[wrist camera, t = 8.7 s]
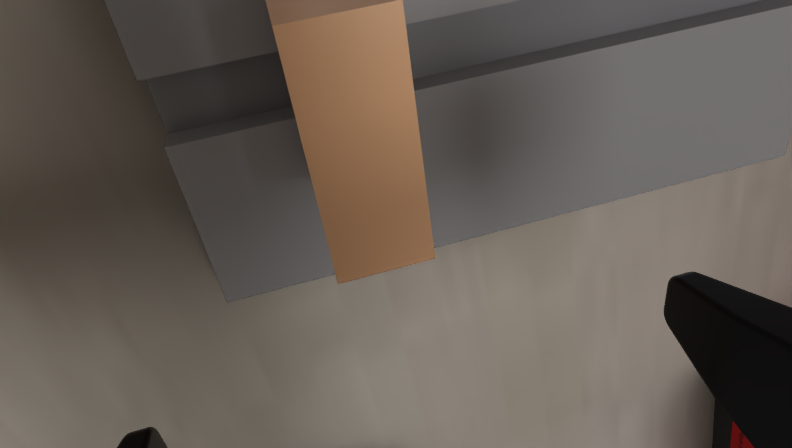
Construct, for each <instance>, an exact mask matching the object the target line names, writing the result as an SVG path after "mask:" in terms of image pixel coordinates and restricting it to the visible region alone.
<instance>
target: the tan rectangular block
mask: <svg viewBox="0 0 792 448" xmlns="http://www.w3.org/2000/svg"><path fill="white" fill-rule="evenodd" d="M265 1H266V5H267V9H268V13H269V17H270V20H271V24H272V28H273V32H274V36H275V40H276V44H277V48H278V52H279V56H280V60H281V64H282V67H283V71H284V75H285V79H286V83H287V87H288V91H289V95H290V99H291V103H292V107H293V111H294V114H295V118H296V122H297V126H298V130H299V134H300V138H301V142H302V146H303V150H304V154H305V158H306V161H307V165H308V169H309V173H310V177H311V181H312V185H313V189H314V193H315V197H316V200H317V204H318V208H319V212H320V216H321V220H322V224H323V228H324V232H325V235H326V239H327V243H328V247H329V251H330V255H331V259H332V263H333V267H334V270H335V274H336V278H337V282H338V284H340V283H344V282H348V281H352V280H355V279H359V278H363V277H367V276H370V275H374V274H378V273H382V272H386V271H389V270H393V269H397V268H401V267H404V266H408V265H412V264H416V263H419V262H423V261H427V260H431V259H434V258H435V252H434V244H433V236H432V228H431V220H430V212H429V204H428V196H427V188H426V181H425V173H424V165H423V157H422V149H421V141H420V133H419V125H418V117H417V109H416V101H415V93H414V85H413V77H412V69H411V62H410V54H409V46H408V38H407V30H406V22H405V14H404V6H403V0H265Z"/></svg>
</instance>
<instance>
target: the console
mask: <svg viewBox="0 0 792 448" xmlns="http://www.w3.org/2000/svg"><path fill="white" fill-rule="evenodd" d="M104 2H105V4H106V6H107V9H108V11H109V14H110V16H111V19H112V21H113V24H114V26H115V29H116V31H117V33H118V36H119V38H120V41H121V43H122V46H123V48H124V51H125V53H126V56H127V58H128V60H129V63H130V65H131V68H132V70H133V73H134V75H135V78H136V80H137V81H140V80H146V82H147V85H148V87H149V90H150V92H151V95H152V97H153V100H154V102H155V105H156V107H157V110H158V113H159V115H160V118H161V120H162V123H163V125H164V128H165V130H166V133H167V137H166V141H165V146H164V149H165V151H166V154H167V156H168V159H169V161H170V164H171V166H172V169H173V171H174V173H175V176H176V178H177V181H178V183H179V186H180V188H181V191H182V193H183V196H184V198H185V200H186V203H187V205H188V208H189V210H190V213H191V215H192V218H193V220H194V223H195V225H196V228H197V230H198V232H199V235H200V237H201V240H202V242H203V245H204V247H205V250H206V252H207V255H208V257H209V259H210V262H211V264H212V267H213V269H214V272H215V274H216V277H217V279H218V282H219V284H220V286H221V289H222V291H223V294H224V296H225V299H226V301H227V302H231V301H235V300H239V299H243V298H246V297H250V296H254V295H258V294H262V293H265V292H269V291H273V290H277V289H281V288H284V287H288V286H292V285H296V284H299V283H303V282H307V281H311V280H315V279H318V278H322V277H326V276H330V275H334V274H335V270H334V267H333V263H332V259H331V255H330V251H329V247H328V243H327V239H326V235H325V232H324V228H323V224H322V220H321V216H320V212H319V208H318V204H317V200H316V197H315V193H314V189H313V185H312V181H311V177H310V173H309V169H308V165H307V161H306V158H305V154H304V150H303V146H302V142H301V138H300V134H299V130H298V126H297V122H296V118H295V114H294V111H293V107H292V103H291V99H290V95H289V91H288V87H287V83H286V79H285V75H284V71H283V67H282V64H281V60H280V56H279V52H278V48H277V44H276V40H275V36H274V32H273V28H272V24H271V20H270V17H269V13H268V9H267V5H266V1H265V0H104ZM403 6H404V14H405V22H406V30H407V38H408V46H409V54H410V62H411V69H412V77H413V85H414V93H415V101H416V109H417V117H418V125H419V133H420V141H421V149H422V157H423V165H424V173H425V181H426V188H427V196H428V204H429V212H430V220H431V228H432V236H433V244H434V248H436V247H440V246H444V245H447V244H451V243H455V242H459V241H463V240H466V239H470V238H474V237H478V236H482V235H485V234H489V233H493V232H497V231H501V230H504V229H508V228H512V227H516V226H520V225H523V224H527V223H531V222H535V221H538V220H542V219H546V218H550V217H554V216H557V215H561V214H565V213H569V212H573V211H576V210H580V209H584V208H588V207H592V206H595V205H599V204H603V203H607V202H611V201H614V200H618V199H622V198H626V197H630V196H633V195H637V194H641V193H645V192H649V191H652V190H656V189H660V188H664V187H667V186H671V185H675V184H679V183H683V182H686V181H690V180H694V179H698V178H702V177H705V176H709V175H713V174H717V173H721V172H724V171H728V170H732V169H736V168H740V167H743V166H747V165H751V164H755V163H759V162H762V161H766V160H770V159H774V158H777V157H781V156H785V153H786V150H787V146H788V142H789V139H790V135H791V131H792V0H403Z"/></svg>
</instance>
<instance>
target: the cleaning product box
mask: <svg viewBox="0 0 792 448" xmlns="http://www.w3.org/2000/svg"><path fill="white" fill-rule="evenodd" d="M712 448H754V447H753V446H752V444H751V443H750V442H749V441H748V439H747V438H746V437H745V436H744V434H743V433H742V432H741V430H740V429H739V428H738V427H737V425H736V424H735V423H734V422H733V420H732V419H731V418H730V417H729V415H728V414H727V413H726V412H725V410H724V409H723V408H722V406H721V405H720V404H719V402H718V401H717V400H716V399H715V411H714V427H713V443H712Z"/></svg>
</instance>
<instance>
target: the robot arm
mask: <svg viewBox="0 0 792 448" xmlns="http://www.w3.org/2000/svg"><path fill="white" fill-rule="evenodd" d="M664 317H665V320H666V322H667V324H668V326H669V328H670V329H671V331H672V332H673V334H674V336H675V337H676V339H677V340H678V342H679V343H680V345H681V347H682V348H683V350H684V351H685V353H686V354H687V356H688V358H689V359H690V361H691V362H692V364H693V365H694V367H695V368H696V370H697V372H698V373H699V375H700V376H701V378H702V379H703V381H704V383H705V384H706V386H707V387H708V389H709V390H710V391H711V393H712V394H713V396H714V397H715V399H716V400H717V401H718V402H719V404H720V405H721V406H722V408H723V409H724V410H725V412H726V413H727V414H728V415H729V417H730V418H731V419H732V420H733V422H734V423H735V424H736V425H737V427H738V428H739V429H740V430H741V432H742V433H743V434H744V436H745V437H746V438H747V439H748V441H749V442H750V443H751V444H752V446H753V447H754V448H792V308H791V307H788V306H786V305H783V304H780V303H778V302H775V301H772V300H770V299H767V298H764V297H762V296H759V295H756V294H753V293H751V292H748V291H745V290H743V289H740V288H737V287H735V286H732V285H729V284H727V283H724V282H721V281H719V280H716V279H713V278H711V277H708V276H705V275H702V274H700V273H697V272H687V273H684V274H680V275H677V276H673V277H672V278H671V279H670V280H669V282H668V286H667V293H666V299H665V305H664ZM117 448H167V446H166V444H165V442H164V441H163V439H162V437H161V436H160V434H159V432H158V431H157V430H156V429H155V428H153V427H148V428H144V429H141V430H137V431H134V432H131V433H128V434H127V435H126V436H125V437H124V438H123V439H122V441H121V442H120V444H119V445H118V447H117Z"/></svg>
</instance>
